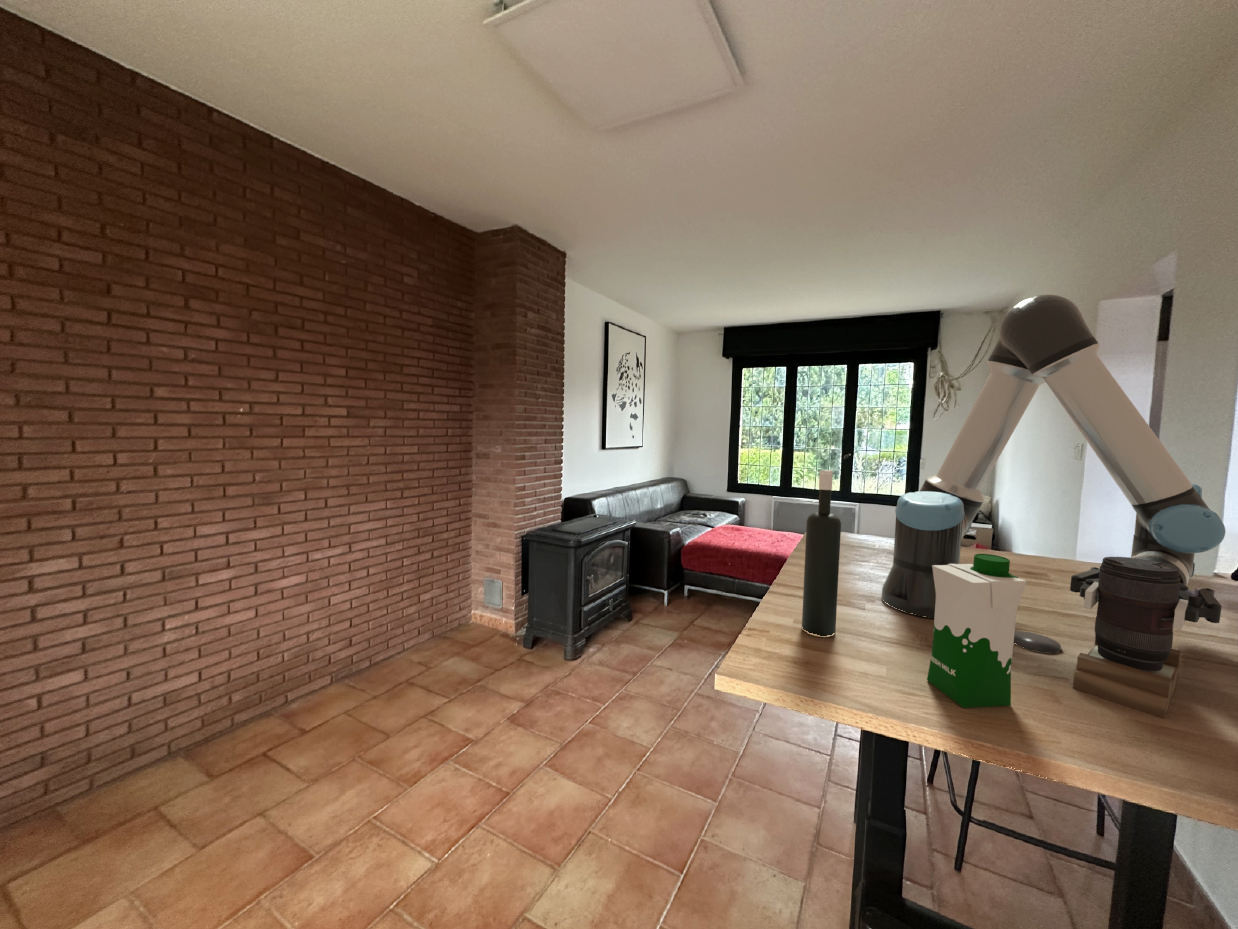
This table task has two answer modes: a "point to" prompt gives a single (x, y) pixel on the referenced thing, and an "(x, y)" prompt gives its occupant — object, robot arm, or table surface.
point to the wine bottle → (821, 564)
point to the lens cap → (1036, 642)
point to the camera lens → (1136, 611)
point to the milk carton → (975, 630)
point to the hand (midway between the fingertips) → (1130, 609)
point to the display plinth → (1128, 681)
